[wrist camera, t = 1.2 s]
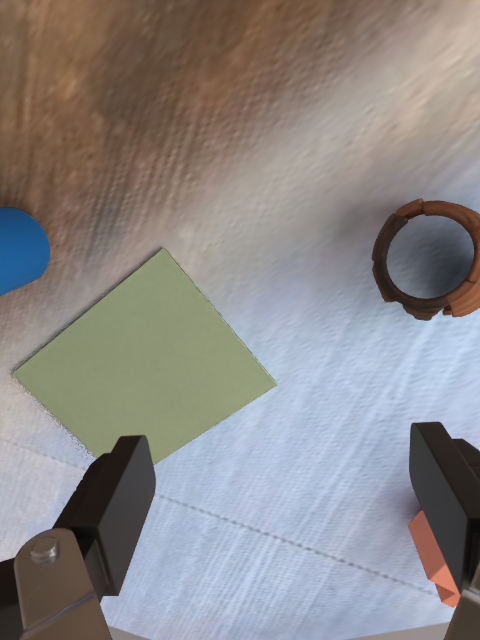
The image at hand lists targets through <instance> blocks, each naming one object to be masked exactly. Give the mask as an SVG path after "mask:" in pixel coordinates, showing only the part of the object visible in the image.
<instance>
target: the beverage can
mask: <svg viewBox="0 0 480 640" xmlns="http://www.w3.org/2000/svg"><path fill="white" fill-rule="evenodd" d="M49 260H50V245H49V241H48V238H47V236H46V234H45V232H44V230H43V229H42V227H41V226H40V224H39V223H38V222H37V221H36V220H35V219H34V218H33V217H31V216H30V215H29V214H27V213H25V212H23V211H21V210H18V209H15V208H10V207H0V296H1V295H4V294H6V293H8V292H10V291H12V290H14V289H17V288H19V287H21V286H23V285H25V284H27V283H30V282H32V281H34V280H36V279H37V278H39V277H40V276H41V275H42V274H43V273H44V271H45V270H46V268H47V266H48V263H49Z"/></svg>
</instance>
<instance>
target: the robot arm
mask: <svg viewBox="0 0 480 640" xmlns="http://www.w3.org/2000/svg"><path fill="white" fill-rule="evenodd" d="M409 472H410V479H411V483H412V486H413V489H414V491H415V494H416V496H417V498H418V501H419V503H420V505H421V507H422V510H423V512H424V514H425V517H426V519H427V521H428V523H429V526H430V528H431V530H432V532H433V535H434V537H435V539H436V542H437V544H438V546H439V548H440V551H441V553H442V555H443V558H444V560H445V562H446V564H447V567H448V569H449V571H450V574H451V576H452V578H453V580H454V583H455V585H456V587H457V589H458V592H459V594H460V595H461V596H460V598H459V601H458V604H457V606H456V609H455V611H454V614H453V617H452V619H451V622H450V624H449V627H448V630H447V633H446V635H445V637H444V640H480V451H479V450H478V449H476V448H475V447H473V446H472V445H471V444H469V443H468V442H466V441H465V440H464V439H452V438H451V437H450V435H449V434H448V432H447V431H446V429H445V428H444V426H443V425H442V423H440V422H422V423H412V425H411V431H410V456H409ZM155 487H156V478H155V471H154V467H153V462H152V457H151V453H150V448H149V443H148V439H147V437H146V436H145V435H130V436H120V437H119V439H118V440H117V442H116V444H115V446H114V448H113V449H112V451H111V453H103V454H102V455H101V456H100V457H99V458H98V459H96V460H95V461H94V462H93V463H92V464H91V465H90V466H89V468H88V470H87V471H86V473H85V475H84V476H83V480H81V481H80V483H79V484H78V486H77V488H76V491H74V493H73V494H72V496H71V498H70V499H69V501H68V503H67V504H66V506H65V508H64V509H63V511H62V513H61V514H60V516H59V518H58V519H57V521H56V522H55V524H54V526H53V527H52V529H49V530H46V531H44V532H41V533H39V534H38V535H36V536H34V537H33V538H31V539H30V540H29V541H28V542H26V543H25V544H24V545H23V546H22V548H21V549H20V550H19V552H18V553H17V555H16V557H15V558H12V559H9V560H5V561H2V562H0V640H112V637H111V635H110V632H109V629H108V626H107V623H106V620H105V617H104V615H103V612H102V609H101V606H100V602H101V600H102V597H103V596H119V593H120V590H121V587H122V584H123V582H124V579H125V576H126V573H127V570H128V567H129V565H130V562H131V559H132V556H133V553H134V551H135V548H136V545H137V542H138V539H139V537H140V534H141V531H142V528H143V525H144V523H145V520H146V517H147V514H148V511H149V508H150V506H151V503H152V500H153V497H154V494H155Z"/></svg>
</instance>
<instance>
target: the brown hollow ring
mask: <svg viewBox="0 0 480 640" xmlns="http://www.w3.org/2000/svg"><path fill="white" fill-rule="evenodd" d="M422 214H425V215H426V216H433V215H438V216H444V217H448V218H451V219H453V220H455V221H457V222H458V223H460V224H461V225H462V226H463V227H464V228H465V229H466V231H467V232H468V233H469V234H470V236H471V238H472V241H473V245H474V261H473V264H472V268H471V270H470V272H469V274H468V275H467V277H466V278H465V280H464V281H463V282H462V283H461V284H460V285H459V286H458V287H456V288H455V289H454V290H452V291H450V292H448V293H446V294H445V295H443V296H440V297H436V298H429V299H424V298H417V297H413V296H410V295H408V294H406V293H404V292H402V291H401V290H399V289H398V288H397V287H396V285H395V284H394V283H393V282H392V280H391V278H390V276H389V273H388V270H387V263H386V260H387V253H388V249H389V246H390V243H391V241H392V239H393V238H394V236H395V235H396V234H397V232H398V231H399V230H400V229H401V228H402V227H403V226H405V225H406V224H407V223H408V220H409V219H412V218H414V217H416V216H418V215H422ZM372 260H373V261H374V264H373V268H372V271H373V275H374V278H375V280H376V283H377V285H378V288H379V290H380V293H381V295H382V297H383V299H384V301H385V302H395V301H397V302H399V303H401V304H402V305H403V308H404V309H405V310H406V312H407V313H409V314H411V315H413V316H414V317H415V318H416V319H418V320H425V321H429V320H431V319H432V316H435V315H436V314H437V313H438V312H439V311H440V310H441V309H443V308H444V310H443V315H452V316H453V317H462V316H465V315H467V314H470V313H472V312H473V311H475V310H477V309H478V308H480V214H479V213H477V212H475V211H473V210H471V209H468V208H466V207H464V206H462V205H458V204H454V203H449V202H445V201H427V202H423V199H421V198H420V199H417V200H415V201H413V202H410V203H408V204H406V205H405V206H403V207H401V208H400V209H399V210H397V212H396V213H394V214H392V215H391V216H390V217H389V218H388V219H387V221H386V222H385V224H384V225H383V227H382V229H381V231H380V233H379V235H378V237H377V239H376V242H375V244H374V249H373V253H372Z"/></svg>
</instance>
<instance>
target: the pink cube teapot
mask: <svg viewBox="0 0 480 640" xmlns="http://www.w3.org/2000/svg"><path fill="white" fill-rule="evenodd" d="M408 528H409V530H410V533H411V536H412V538H413V541H414V544H415V546H416V549H417V552H418V554H419V557H420V560H421V562H422V565H423V568H424V570H425V573H426V576H427V578H428V579H429V580H430V581H432V582H434V583H435V585H436V588H437V591H438V594H439V597H440V599H441V602H442V603H444V604H446V605H448V606H451V607H455V606H457V604H458V601H459V598H460V596H461V595H460V594H459V592H458V589H457V587H456V585H455V583H454V580H453V578H452V576H451V574H450V571H449V569H448V567H447V564H446V562H445V560H444V558H443V555H442V553H441V551H440V548H439V546H438V544H437V542H436V539H435V537H434V535H433V532H432V530H431V528H430V526H429V523H428V521H427V519H426V517H425V514H424V512H423V510H421V511H420V512H419V513H418V514H417V515H416V516H415V517H414V519H413V520H412V521H411V522H410V523H409V524H408Z"/></svg>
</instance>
